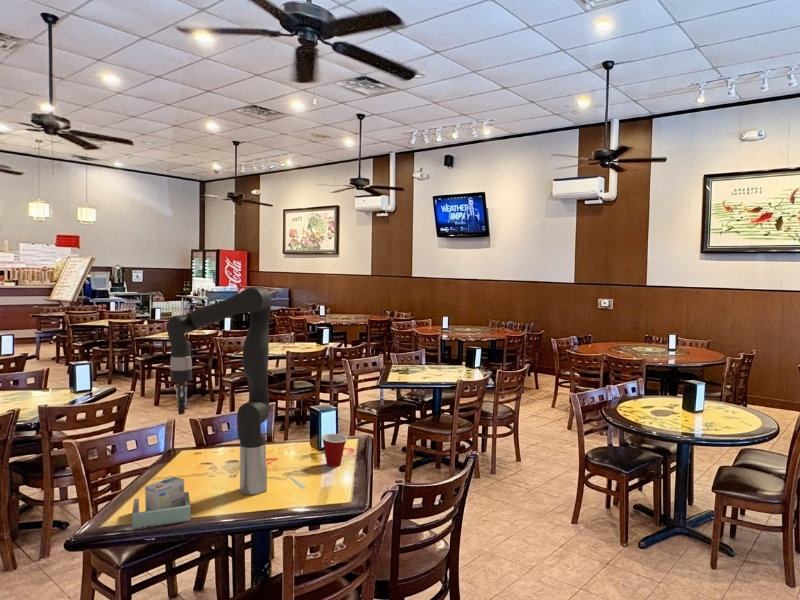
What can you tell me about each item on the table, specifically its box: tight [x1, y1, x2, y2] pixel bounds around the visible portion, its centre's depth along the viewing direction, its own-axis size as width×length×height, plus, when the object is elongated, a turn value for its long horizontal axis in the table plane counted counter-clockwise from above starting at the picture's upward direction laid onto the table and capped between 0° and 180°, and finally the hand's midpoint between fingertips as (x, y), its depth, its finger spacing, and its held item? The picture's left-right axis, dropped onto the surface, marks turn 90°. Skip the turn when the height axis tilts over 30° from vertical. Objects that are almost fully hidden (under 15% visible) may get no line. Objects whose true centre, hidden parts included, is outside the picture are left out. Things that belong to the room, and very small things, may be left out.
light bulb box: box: [144, 475, 185, 511], centre depth 185 cm, size 11×7×11 cm, turn 151°
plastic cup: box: [321, 433, 348, 468], centre depth 235 cm, size 11×11×12 cm
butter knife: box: [288, 476, 307, 489], centre depth 220 cm, size 1×27×3 cm
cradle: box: [131, 491, 192, 530], centre depth 183 cm, size 17×14×4 cm
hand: (181, 413), depth 210 cm, fingers closed
